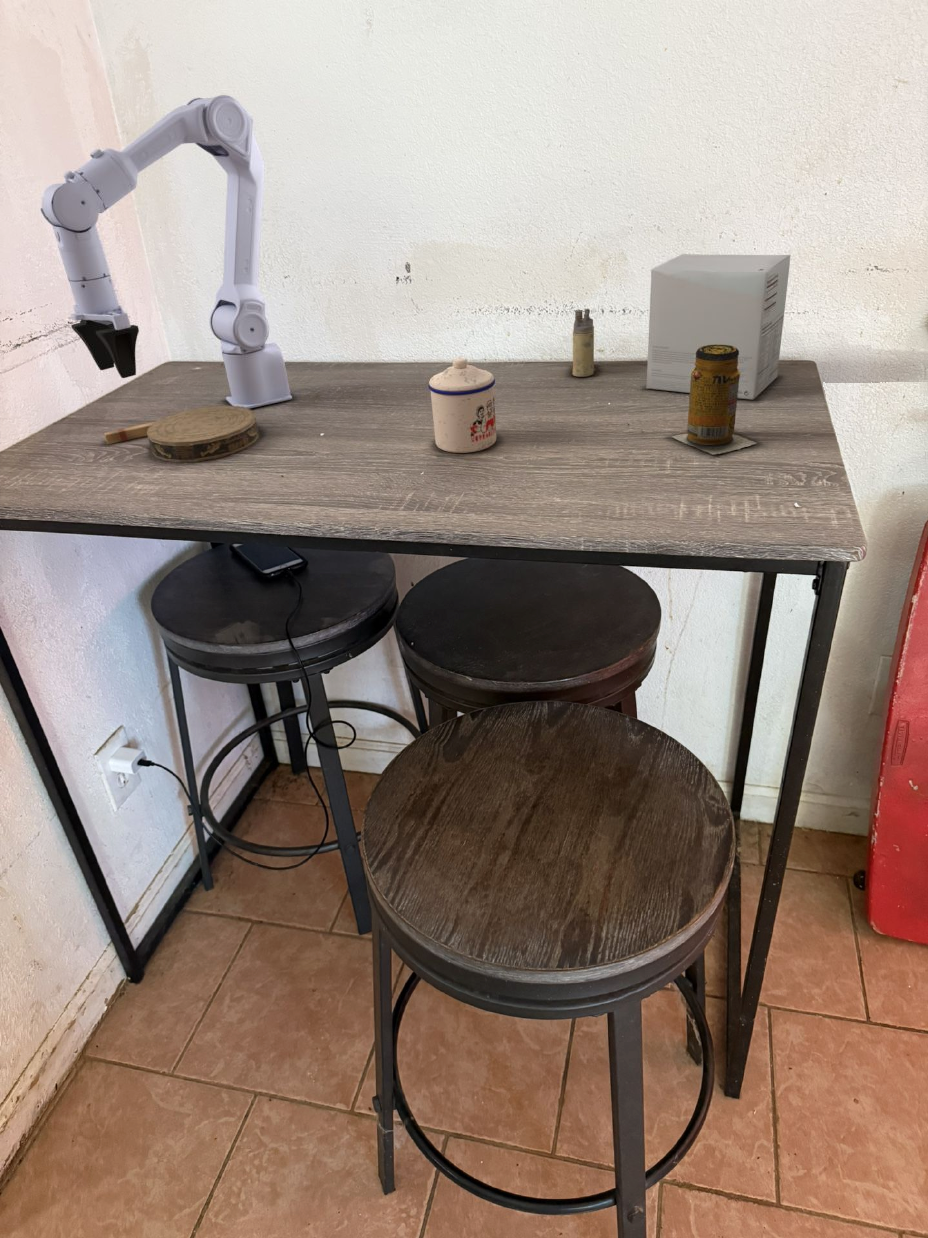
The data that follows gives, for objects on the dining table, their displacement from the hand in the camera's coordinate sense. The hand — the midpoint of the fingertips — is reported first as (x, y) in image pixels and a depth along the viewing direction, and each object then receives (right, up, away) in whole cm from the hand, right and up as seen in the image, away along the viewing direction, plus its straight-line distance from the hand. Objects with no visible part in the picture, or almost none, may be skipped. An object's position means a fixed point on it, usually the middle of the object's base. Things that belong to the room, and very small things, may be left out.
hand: (117, 372), depth 127 cm
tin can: (+13, -11, 0) cm, 17 cm away
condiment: (+86, -14, -15) cm, 88 cm away
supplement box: (+92, 0, +6) cm, 92 cm away
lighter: (+73, +5, +16) cm, 75 cm away
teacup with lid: (+53, -12, -7) cm, 55 cm away
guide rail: (+5, -7, +6) cm, 11 cm away
